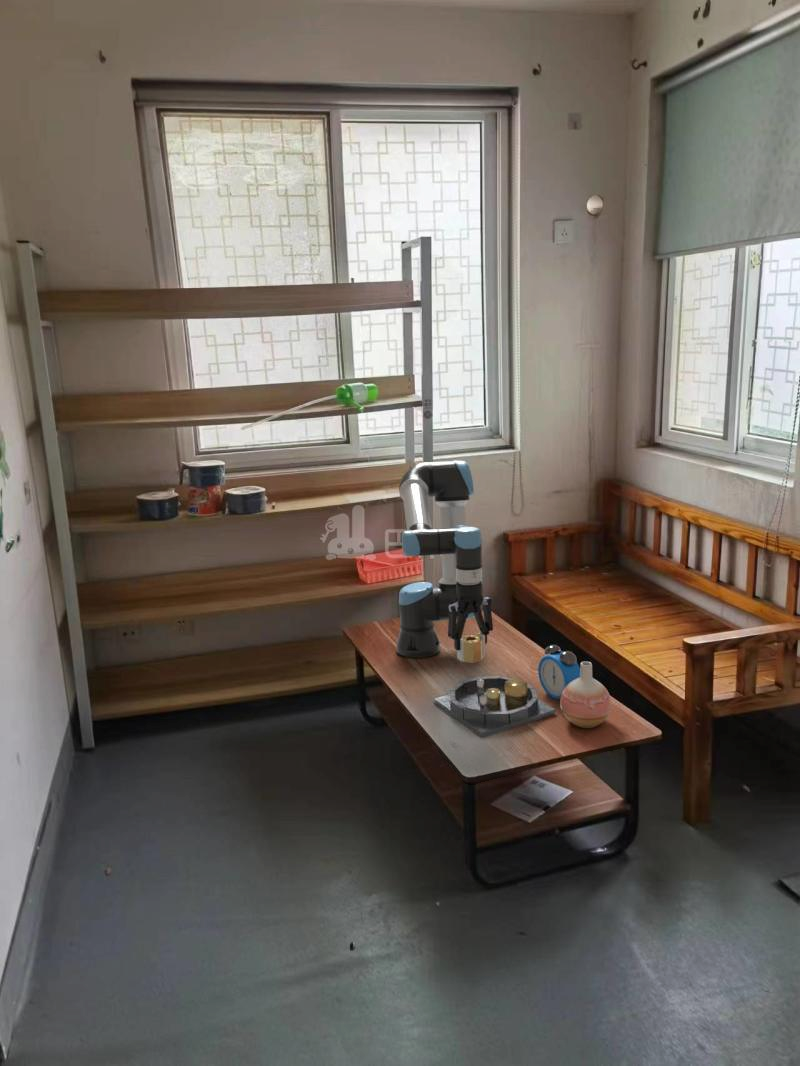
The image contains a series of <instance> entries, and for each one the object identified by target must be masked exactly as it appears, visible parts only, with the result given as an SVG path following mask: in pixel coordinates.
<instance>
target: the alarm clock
mask: <svg viewBox="0 0 800 1066" xmlns="http://www.w3.org/2000/svg"><path fill="white" fill-rule="evenodd" d="M543 653H544V654H543V655H544V656H543V657H541V659H540V661H539V663H538V668H537V674H538V675H537V676H538V679H539V683H540V684H541V686H542V688H543V691H544V692H545V694H546V695H548V696H549V697H550V698H553V699H554V700H560V699H561V695H562V692H563V690H564V689H565V687H566V686H567V685H568V684H569V683H570V682H572V681H573V680H575V679H577V678H579V677H580V666H579V664H578V661H577V656H576V654H574V653H573V652H572V651H569V650H566V651H562V650H561V647H560V646H558V645H557V644H549V646H547V647H546V648H545V649H544V652H543Z"/></svg>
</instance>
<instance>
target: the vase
mask: <svg viewBox="0 0 800 1066" xmlns="http://www.w3.org/2000/svg"><path fill="white" fill-rule="evenodd" d="M579 668H580V677H579V678H577V679H575V680H573V681H572V682H570V683H569V684H568V685H567V686H566V687H565V689H564V690H563V692H562V695H561V699H559V701H560V702H559V706H560V711H561V712H562V714H563V716H564V717H565V718H566V719H567V721H569V722H570V723H572V724H573V725H574V726H575V727H577V728H582V729H593V728H596V727H598V726H599V725H600V724H603V723H604V722H605V721H606V720H607V719H608V718H609V716H610V714H611V712H612V699H611V695H610V693H609V691H608V689H607V688H606V687H605V686H604V685H603V684H602V683H601V682H600V681H598V680H597V679H595V678H594V677H593V664H592V662H590V661H585V660H584V661H581V662H580V666H579Z"/></svg>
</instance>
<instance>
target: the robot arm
mask: <svg viewBox="0 0 800 1066" xmlns="http://www.w3.org/2000/svg"><path fill="white" fill-rule="evenodd" d="M398 491H399V492H398V493H399V497H400V499H402V501H403V509H404V515H405V516H404V517H405V526H406V531H405V530H404V531H402V533H401V547H402V555H404V556H406V557H421V556H422V557H423V556H436V555H438V556H440V555H441V559H442V560H441V561H442V563H441V564H442V566H441V567H442V577H441V578H440V579H439V580H438V586H434V585H433V583H431V582H429V581H426V582H425V581H418V582H413V583H409V584H407V585H405V586H403V587H402V588H401V589H400V591H399V593H398V596H399V597H398V604H399V622H400V625H399V626H400V627H399V628H400V630H399V634H398V638H397V641H396V645H395V647H396V648H395V649H396V650H395V651H396V653H397V654H398V653H399V654H400V655H399V654H398V655H399V656H401V655H402V656H401V657H404V656H405V657H404V658H410V659H423V658H424V659H425V658H429V657H432V656H436V655H437V654H438V653H439V652H440V651H441V643H440V639H439V637H438V634H437V632H436V630H435V622H442V621H444V622H445V621H448V625H447V627H448V628H447V637H448V638H449V639H451V640H453V643H454V649H455V650H456V659H457V660H459V662H463V661H464V640H463V639H461V637H462V636H463V632H464V629H465V625H466V621H467V620H471V619H473V618H475V620H476V623H477V626H478V628H479V629H478V630H479V631H480V632H477V635H478V636H480V637H482V638H483V657H485V656H486V645H487V644H488V635H490V632H492V631H493V630H494V625H493V623H494V622H493V616H492V603H493V599H492V598H491V597H488V596H484V597H483V593H484V592H483V590H484V588H483V584H484V583H483V582H482V581H483V564H482V563H483V559H482V555H483V554H482V547H483V546H482V543H483V539H482V531H481V529H480V528H478V527H476V526H467V523H466V521H467V520H466V516H467V515H466V505H467V504H468V503H469V501H470V496H472V495H474V491H475V489H474V480H473V474H472V471H471V468H470V465H469V463H468V462H466V461H465V460H448V461H447V460H445V461H444V460H443V461H442V460H441V461H429V462H427V461H425V462H419V463H417V464H414V465H413V466H411V467H410V468H409V469H408V470H406V471H405V473H404V474H403V475H402V477H401V479H400V481H399V487H398ZM429 497H431V498H432V497H433V498H434V502H435V504H437V506H439V517H440V518H439V520H440V521H439V522H440V529H437V528H436V529H435V528H434V529H433V528H432V527H433V526H432V524H431V523H432V522H431V521H432V520H431V516H430V510H429V504H428V499H427V498H429ZM481 606H482V610H481ZM482 611H483V612H482ZM482 613H483V614H482Z"/></svg>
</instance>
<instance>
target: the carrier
mask: <svg viewBox="0 0 800 1066" xmlns="http://www.w3.org/2000/svg"><path fill="white" fill-rule="evenodd" d="M433 703H434V705H436V706H437V707H439V708H440V709H442V710H443V711H444V712H446V713H447V714H449V715H450V716H451V717H453V718H454V719H456V721H457V722H459V723H461V724H462V725H464V727H466V728H467V729H469V730H470V731H472V732H473V733H474V734H476V736H478V737H480V738H485V737H489V736H492V735H495V734H498V733H501V732H504V731H507V730H510V729H514V728H517V727H521V726H522V725H527V724H530V723H532V722H536V721H539V720H542V719H545V718H548V717H551V716H555V715H557V714H556V712H557V711H556V708H554V707H552V706H550V705H549V704H547V703H546V702H544V701H542V700H541V699H539V696H538V693H537V691H536V688H535V687H534V686H532V685H531V684H529V683H527V681H525V680H523V679H518V678H511V677H506V676H500V675H498V676H497V675H494V676H492V675H491V676H477V677H473V678H469V679H465V680H461V681H459V682H458V683H457V684H456V685H455V686H453V687H452V688H451V689H450V690H449V693H448V694H445V695H442V696H438V697H435V698H434V699H433Z"/></svg>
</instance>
